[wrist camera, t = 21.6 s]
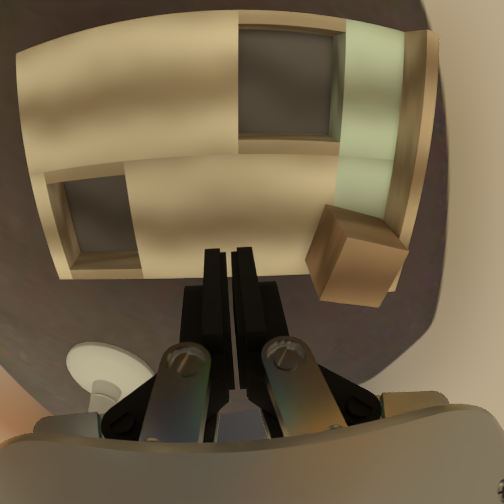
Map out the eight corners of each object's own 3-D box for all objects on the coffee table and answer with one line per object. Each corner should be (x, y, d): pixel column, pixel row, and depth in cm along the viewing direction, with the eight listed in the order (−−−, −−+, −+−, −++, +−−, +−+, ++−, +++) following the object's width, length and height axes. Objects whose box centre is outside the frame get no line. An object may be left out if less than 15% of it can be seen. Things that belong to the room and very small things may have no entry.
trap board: (35, 53, 17) (-8, 55, 12) (396, 37, 18) (439, 33, 13) (71, 260, 27) (46, 300, 22) (369, 252, 29) (394, 291, 24)
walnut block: (325, 204, 23) (347, 237, 19) (380, 218, 24) (409, 251, 19) (304, 259, 25) (319, 300, 21) (357, 269, 26) (378, 307, 22)
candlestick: (173, 393, 39) (164, 601, 14) (102, 401, 41) (76, 576, 15) (123, 333, 33) (78, 600, 7) (50, 348, 34) (-8, 552, 9)
